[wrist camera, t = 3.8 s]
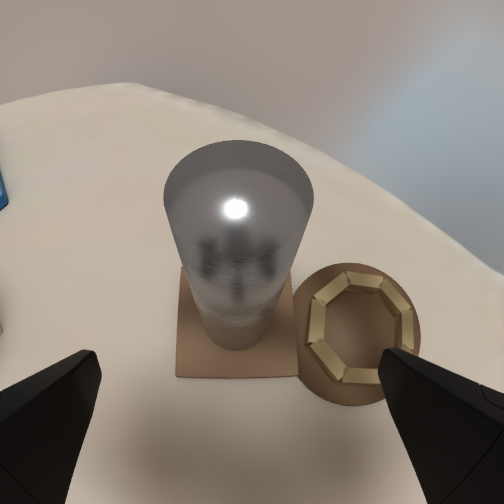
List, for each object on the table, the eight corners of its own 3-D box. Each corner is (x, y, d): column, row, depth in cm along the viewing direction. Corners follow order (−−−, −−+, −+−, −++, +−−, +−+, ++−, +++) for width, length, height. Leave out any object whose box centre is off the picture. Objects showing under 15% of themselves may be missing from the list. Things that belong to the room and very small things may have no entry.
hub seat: (348, 436, 16) (357, 438, 15) (251, 319, 20) (253, 311, 19) (438, 337, 20) (450, 331, 19) (355, 242, 24) (362, 231, 23)
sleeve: (228, 363, 18) (216, 286, 7) (191, 311, 20) (140, 176, 9) (281, 325, 20) (343, 204, 8) (243, 278, 21) (253, 125, 10)
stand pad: (296, 375, 19) (298, 375, 18) (177, 376, 18) (175, 375, 18) (288, 269, 22) (289, 266, 22) (182, 270, 22) (181, 266, 21)
